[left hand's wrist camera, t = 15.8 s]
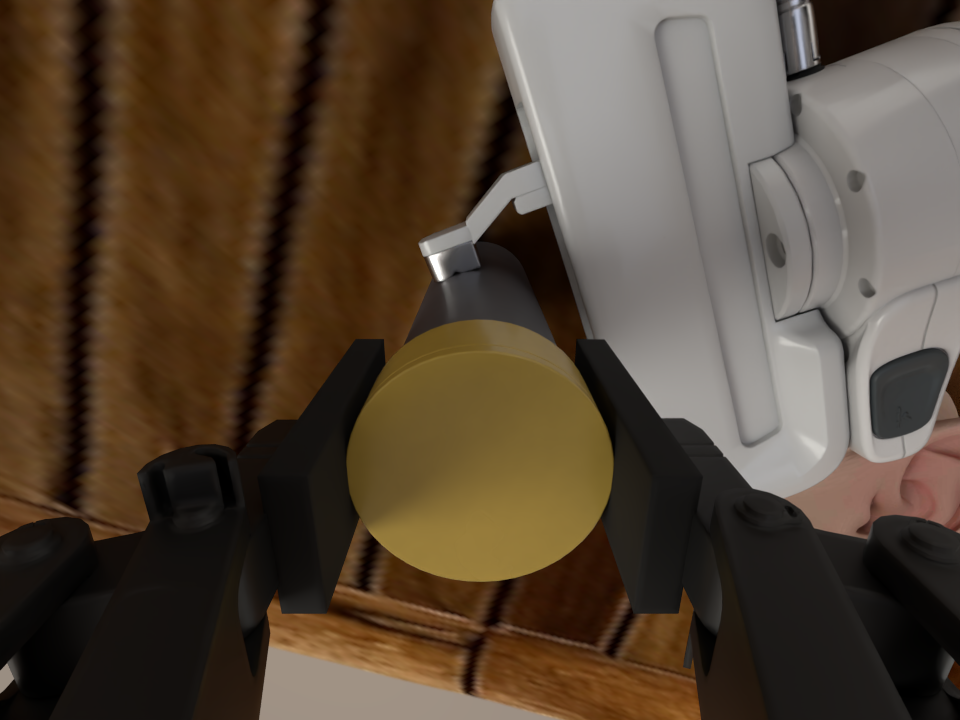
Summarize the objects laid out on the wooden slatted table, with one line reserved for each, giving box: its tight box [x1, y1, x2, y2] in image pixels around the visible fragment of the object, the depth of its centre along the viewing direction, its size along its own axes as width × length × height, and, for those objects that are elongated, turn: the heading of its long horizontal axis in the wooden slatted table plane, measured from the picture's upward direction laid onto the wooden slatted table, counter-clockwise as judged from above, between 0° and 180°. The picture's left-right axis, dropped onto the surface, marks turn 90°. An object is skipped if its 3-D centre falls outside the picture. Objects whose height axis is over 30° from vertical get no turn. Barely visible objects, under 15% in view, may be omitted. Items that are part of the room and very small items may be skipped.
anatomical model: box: [784, 391, 960, 539], centre depth 27 cm, size 13×4×12 cm
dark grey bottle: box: [404, 242, 556, 345], centre depth 18 cm, size 5×5×16 cm
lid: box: [346, 320, 614, 582], centre depth 11 cm, size 5×5×2 cm
